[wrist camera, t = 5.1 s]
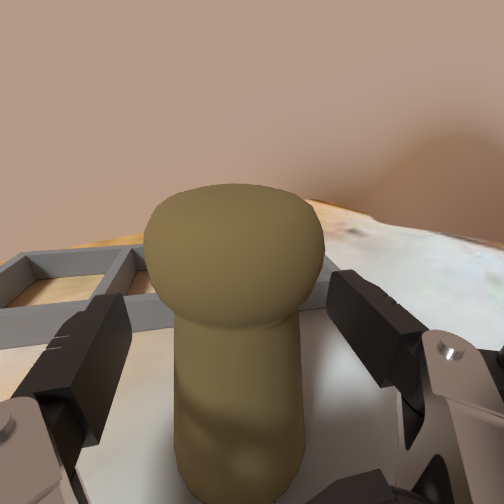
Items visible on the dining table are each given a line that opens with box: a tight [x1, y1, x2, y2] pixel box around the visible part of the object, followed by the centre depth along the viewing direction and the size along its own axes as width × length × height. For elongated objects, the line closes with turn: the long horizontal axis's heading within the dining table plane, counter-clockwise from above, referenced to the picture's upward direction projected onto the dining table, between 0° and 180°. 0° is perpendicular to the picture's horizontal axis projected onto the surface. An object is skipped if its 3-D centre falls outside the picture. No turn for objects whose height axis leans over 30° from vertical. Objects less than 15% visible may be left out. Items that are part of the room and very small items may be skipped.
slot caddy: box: [0, 244, 340, 349], centre depth 21 cm, size 27×10×2 cm, turn 101°
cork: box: [143, 184, 325, 504], centre depth 9 cm, size 6×6×11 cm
